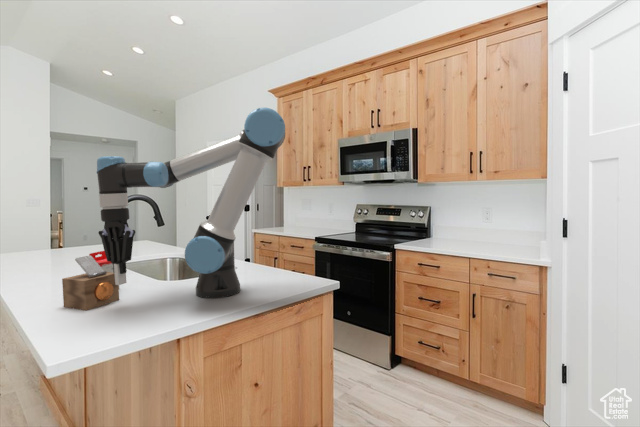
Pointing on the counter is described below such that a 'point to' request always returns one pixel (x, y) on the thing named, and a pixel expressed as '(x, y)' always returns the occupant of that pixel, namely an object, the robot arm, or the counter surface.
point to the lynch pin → (103, 291)
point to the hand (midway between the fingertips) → (121, 283)
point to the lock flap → (90, 266)
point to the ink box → (103, 261)
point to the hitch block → (87, 291)
